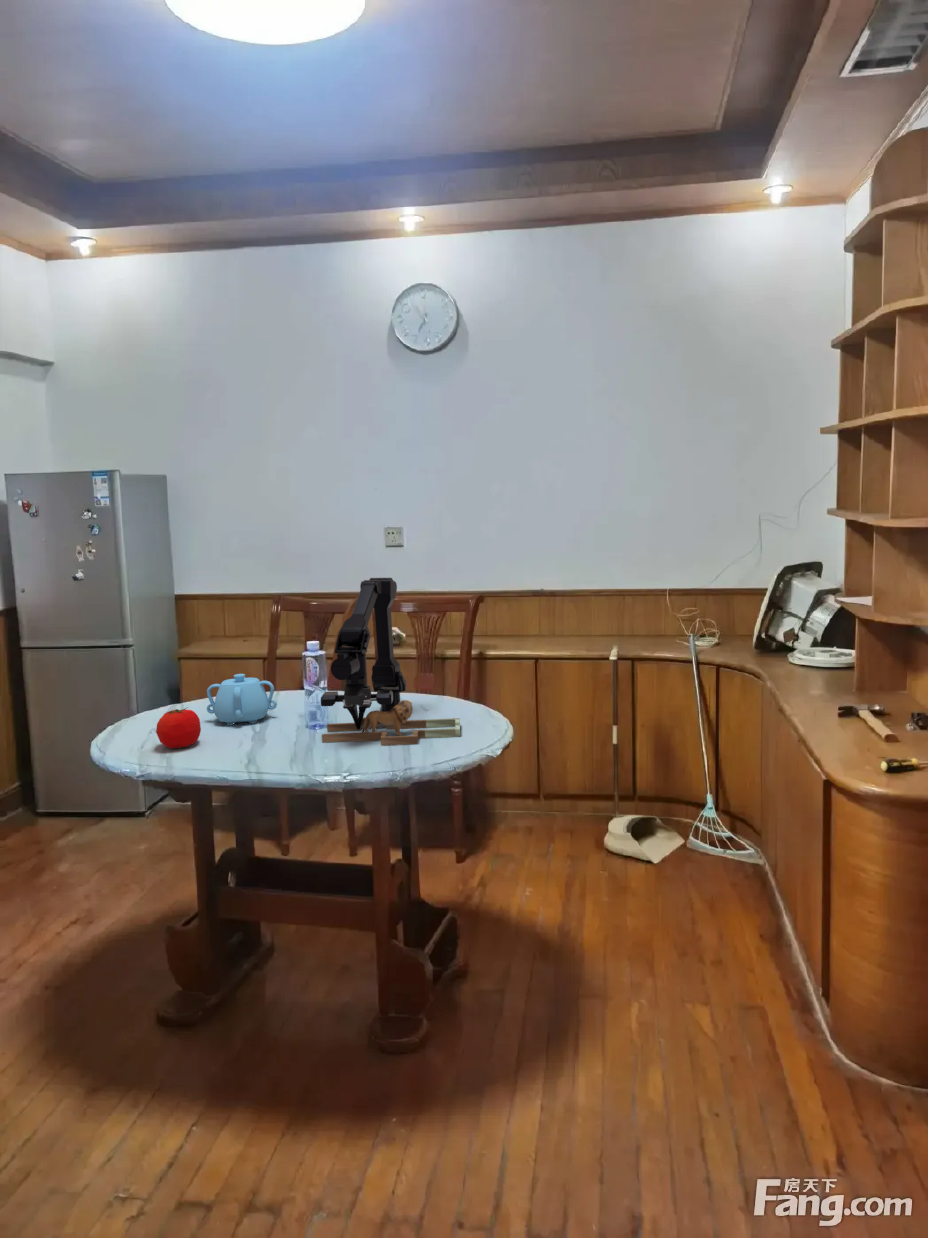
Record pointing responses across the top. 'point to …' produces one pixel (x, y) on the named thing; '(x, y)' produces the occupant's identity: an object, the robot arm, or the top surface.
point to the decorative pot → (241, 700)
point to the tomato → (178, 728)
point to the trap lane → (393, 739)
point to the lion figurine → (390, 717)
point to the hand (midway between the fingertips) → (358, 729)
